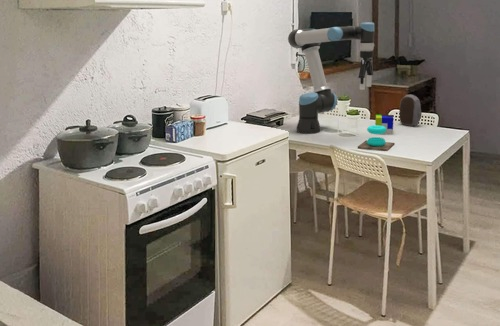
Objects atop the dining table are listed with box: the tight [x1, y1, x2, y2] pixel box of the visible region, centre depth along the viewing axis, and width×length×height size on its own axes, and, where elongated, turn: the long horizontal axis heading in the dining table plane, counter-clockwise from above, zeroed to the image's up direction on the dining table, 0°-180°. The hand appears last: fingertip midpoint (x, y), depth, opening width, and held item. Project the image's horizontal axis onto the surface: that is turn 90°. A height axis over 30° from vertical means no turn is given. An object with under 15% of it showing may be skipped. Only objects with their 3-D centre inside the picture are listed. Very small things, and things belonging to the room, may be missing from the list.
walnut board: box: [357, 139, 395, 152], centre depth 288 cm, size 16×16×1 cm
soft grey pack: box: [398, 94, 423, 126], centre depth 338 cm, size 15×8×20 cm, turn 36°
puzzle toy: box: [374, 114, 394, 135], centre depth 320 cm, size 10×10×10 cm
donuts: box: [366, 124, 387, 146], centre depth 286 cm, size 10×10×10 cm
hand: (365, 88), depth 305 cm, fingers open, 13 cm apart
